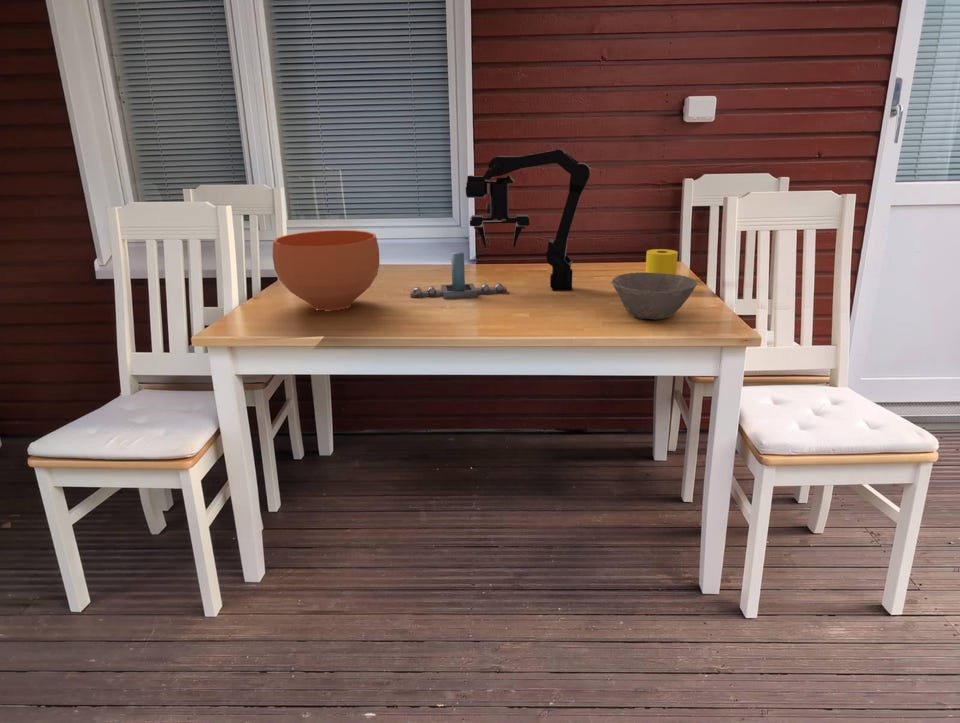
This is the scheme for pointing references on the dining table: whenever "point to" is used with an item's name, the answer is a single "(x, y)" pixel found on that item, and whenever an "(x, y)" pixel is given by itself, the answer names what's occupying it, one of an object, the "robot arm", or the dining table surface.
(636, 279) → the ceramic bowl
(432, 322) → the dining table surface
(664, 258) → the tape roll
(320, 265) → the flowerpot
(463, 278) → the pin
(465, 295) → the grey square frame handle
